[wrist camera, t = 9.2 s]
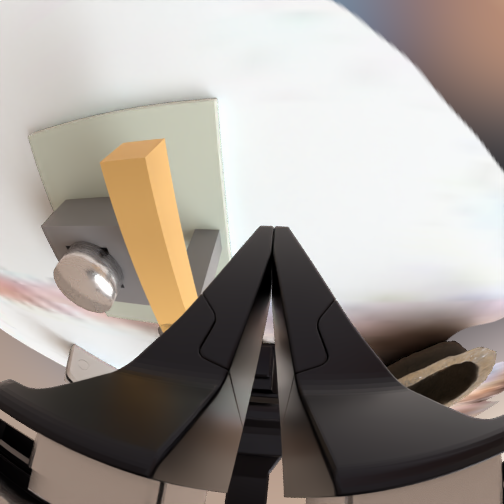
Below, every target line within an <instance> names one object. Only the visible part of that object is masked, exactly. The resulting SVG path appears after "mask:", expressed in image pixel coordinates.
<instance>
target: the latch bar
mask: <svg viewBox="0 0 504 504" xmlns="http://www.w3.org/2000/svg"><path fill="white" fill-rule="evenodd" d="M100 165H101V169H102V173H103V176H104V180H105V183H106V187H107V190H108V193H109V196H110V200H111V203H112V206H113V209H114V212H115V215H116V218H117V221H118V224H119V227H120V230H121V233H122V235H123V238H124V241H125V244H126V247H127V249H128V252H129V255H130V257H131V260H132V262H133V265H134V267H135V270H136V273H137V275H138V277H139V280H140V282H141V285H142V287H143V290H144V292H145V294H146V297H147V299H148V301H149V303H150V306H151V308H152V310H153V312H154V315H155V317H156V319H157V321H158V323H159V329H158V332H159V334H160V336H161V335H162V334H163V333H164V332H165V331H166V330H167V329H168V328H169V327H170V326H171V325H172V324H173V323H174V322H176V321H177V320H178V319H179V318H180V317H181V316H182V315H183V314H184V312H185V311H186V310H187V309H188V308H189V307H190V306H191V305H192V304H193V303H194V301H195V300H196V299H197V298H198V296H197V292H196V288H195V284H194V280H193V276H192V272H191V268H190V264H189V259H188V255H187V251H186V246H185V242H184V237H183V232H182V228H181V223H180V218H179V214H178V209H177V204H176V199H175V193H174V188H173V183H172V177H171V172H170V166H169V161H168V155H167V149H166V143H165V138H163V139H152V140H143V141H134V142H126V143H122V144H121V145H120V146H119V147H117V148H116V149H115V150H114V151H113V152H111V153H110V154H109V155H108V156H107V157H105V158H104V159H103V160H102V161H101V162H100Z"/></svg>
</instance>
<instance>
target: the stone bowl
mask: <svg viewBox="0 0 504 504" xmlns="http://www.w3.org/2000/svg"><path fill="white" fill-rule="evenodd" d="M495 360H496V352H495V351H493V350H491V351H490V350H489V349H488V348H483V347H478V348H475V349H472V350H469V351H467V350H466V349H465V348H463V347H462V346H461V345H460V344H459V343H457V342H456V341H451V342H450V341H448V342H447V341H446V342H442V343H438V344H436V345H434V346H431V347H429V348H426V349H424V350H422V351H420V352H416V353H413V354H411V355H410V356H408V357H403V358H402V359H401V360H399V361H397V362H395V363H394V364H391V365H389V366H388V367H387V369H388V370H389V371H390V372H391V374H392V375H393V376H394V377H395V378H396V379H397V380H398V381H399V382H400V383H401V384H403V385H404V386H405V387H407V388H408V389H410V390H412V391H414V392H416V393H418V394H420V395H423V396H425V397H427V398H429V399H431V400H433V401H436V402H438V403H440V404H442V405H445V406H447V407H450V406H452V405H453V404H455V403H457V402H458V401H460V400H461V399H463V398H464V397H466V396H467V395H469V394H470V393H471V392H472V391H473V390H474V389H476V388H477V387H478V386H479V385H480V384H481V383H483V382H484V381H485V380H486V379H487V376H488V375H489V374H490V372H491V371H492V369H493V366H494V364H495Z"/></svg>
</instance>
